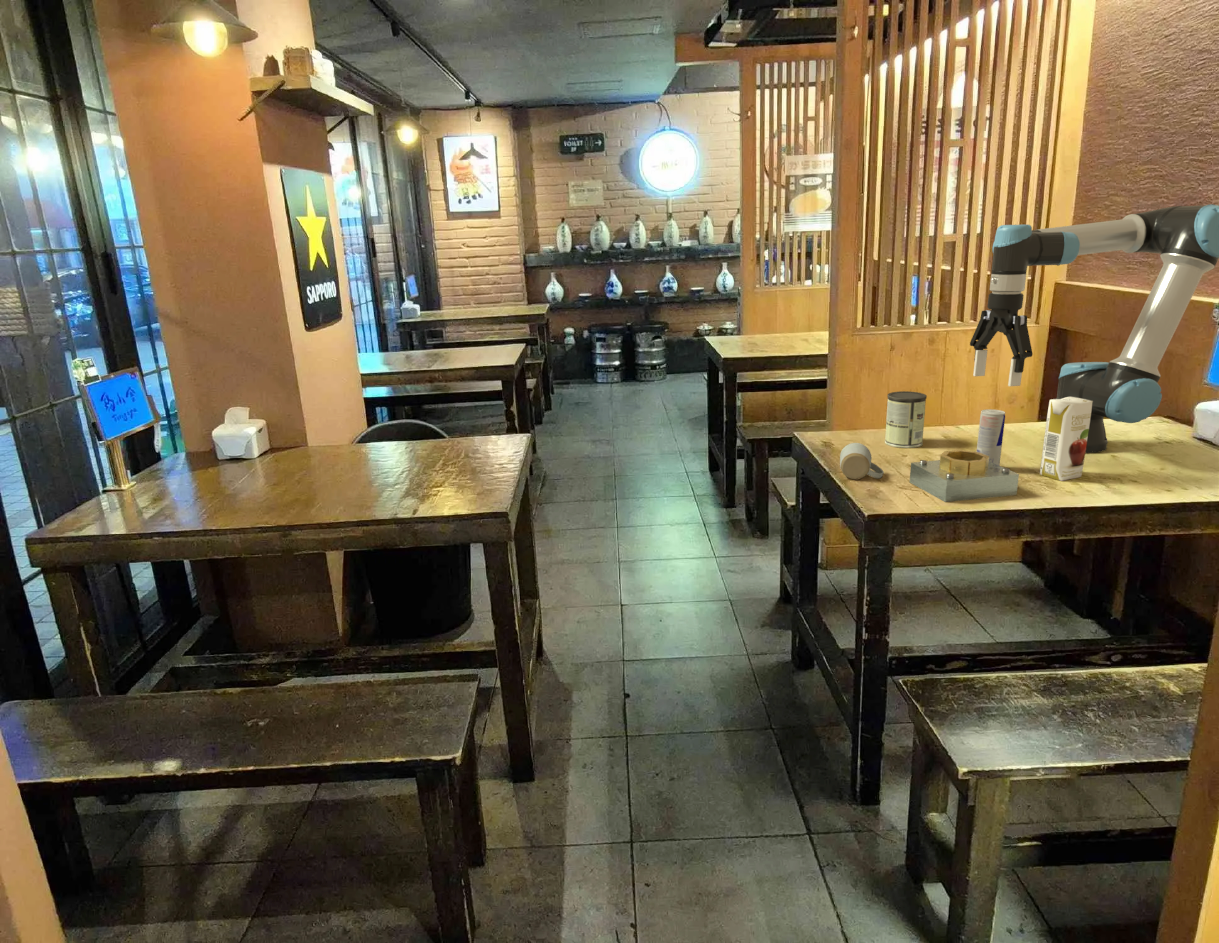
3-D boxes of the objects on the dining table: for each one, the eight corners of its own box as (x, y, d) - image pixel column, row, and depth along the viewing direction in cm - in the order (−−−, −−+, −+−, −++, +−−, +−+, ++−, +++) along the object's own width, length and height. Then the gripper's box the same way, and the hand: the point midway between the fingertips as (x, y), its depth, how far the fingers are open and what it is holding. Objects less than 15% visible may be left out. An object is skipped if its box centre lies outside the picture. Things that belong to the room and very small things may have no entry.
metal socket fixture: (976, 476, 200) (979, 444, 197) (1016, 494, 186) (1020, 461, 183) (909, 482, 197) (912, 450, 194) (945, 502, 182) (948, 468, 180)
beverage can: (1001, 472, 202) (1008, 413, 197) (977, 471, 203) (983, 413, 198) (996, 466, 207) (1002, 408, 203) (972, 465, 208) (978, 408, 204)
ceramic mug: (838, 479, 200) (841, 450, 198) (839, 470, 208) (841, 441, 205) (883, 483, 198) (886, 452, 195) (882, 473, 205) (885, 443, 203)
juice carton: (1034, 474, 199) (1044, 398, 194) (1059, 469, 203) (1069, 395, 197) (1061, 482, 193) (1072, 404, 187) (1086, 477, 196) (1098, 400, 190)
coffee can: (889, 437, 237) (892, 389, 233) (926, 441, 231) (930, 392, 227) (879, 445, 229) (883, 396, 224) (917, 450, 223) (922, 399, 219)
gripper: (960, 289, 203) (952, 372, 209) (1027, 297, 180) (1015, 391, 186) (987, 287, 204) (978, 371, 211) (1057, 295, 181) (1044, 389, 187)
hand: (995, 380), depth 198 cm, fingers open, 13 cm apart
